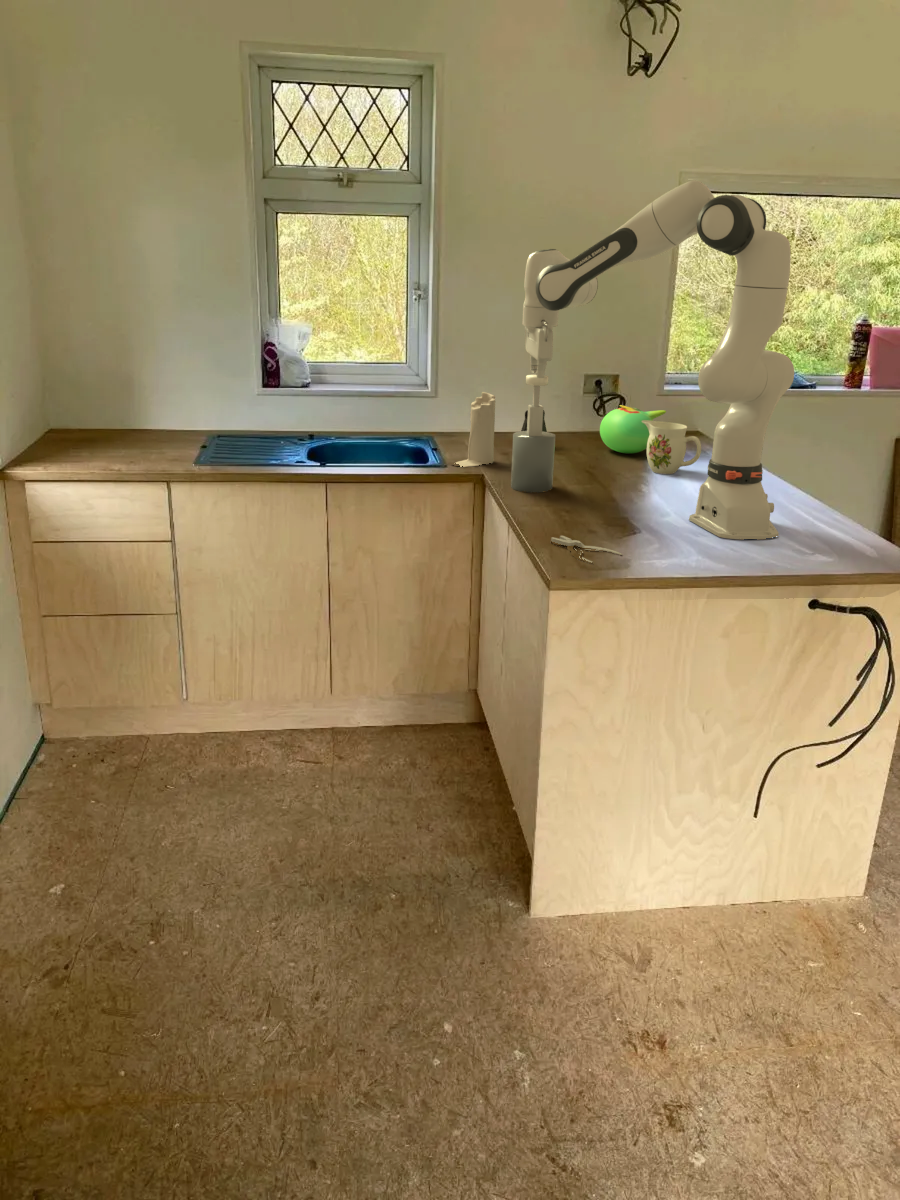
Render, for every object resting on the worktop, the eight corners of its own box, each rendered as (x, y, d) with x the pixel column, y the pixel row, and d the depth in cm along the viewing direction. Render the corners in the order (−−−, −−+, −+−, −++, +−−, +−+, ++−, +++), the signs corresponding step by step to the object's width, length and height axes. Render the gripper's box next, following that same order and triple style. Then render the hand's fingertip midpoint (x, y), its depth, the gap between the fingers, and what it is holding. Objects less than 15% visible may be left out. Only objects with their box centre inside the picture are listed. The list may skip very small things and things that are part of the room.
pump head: (548, 413, 237) (550, 377, 234) (526, 413, 237) (528, 377, 233) (544, 409, 242) (546, 374, 239) (523, 409, 242) (524, 374, 239)
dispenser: (555, 492, 242) (560, 409, 234) (514, 492, 241) (517, 409, 233) (548, 482, 252) (552, 402, 244) (508, 482, 251) (511, 402, 244)
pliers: (591, 558, 189) (539, 540, 199) (590, 565, 189) (539, 547, 200) (623, 549, 194) (572, 532, 205) (623, 556, 195) (571, 539, 206)
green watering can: (588, 449, 293) (591, 402, 288) (630, 444, 301) (635, 398, 295) (622, 460, 278) (627, 411, 273) (667, 455, 286) (672, 408, 280)
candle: (446, 464, 270) (447, 394, 263) (482, 458, 278) (484, 390, 271) (462, 468, 265) (464, 398, 258) (498, 462, 273) (500, 393, 266)
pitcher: (691, 480, 257) (697, 430, 252) (630, 471, 266) (634, 423, 261) (703, 472, 266) (709, 424, 261) (644, 464, 275) (648, 417, 270)
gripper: (560, 322, 222) (556, 381, 227) (545, 315, 241) (542, 369, 246) (534, 322, 221) (531, 381, 226) (521, 315, 240) (519, 369, 245)
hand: (537, 375), depth 236 cm, fingers open, 8 cm apart
